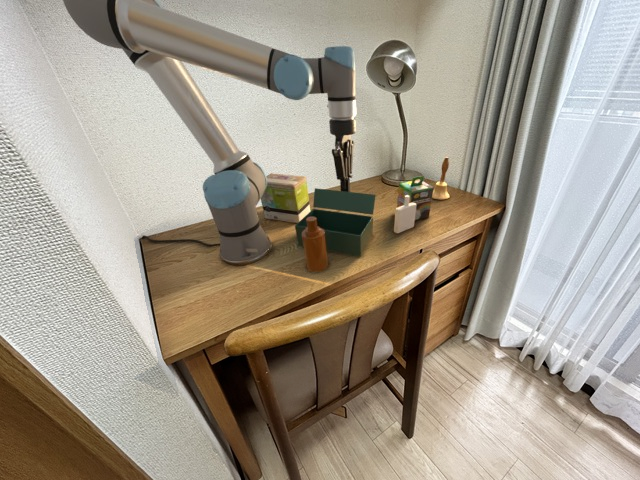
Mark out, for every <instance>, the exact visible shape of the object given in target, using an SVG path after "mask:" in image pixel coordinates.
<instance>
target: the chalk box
mask: <svg viewBox="0 0 640 480" xmlns="http://www.w3.org/2000/svg"><path fill="white" fill-rule="evenodd" d="M424 179H425V176H424V175H420V176H419V175H418V176H414V177H413V178H412V180H409V181H405V182H400V183H399V184H398V192H397V205H396V208H398V207H400V206H403V205H404V200H405V196H407V195H408V196H410V198H409V203H412V202H413V203H416V213H415V221H417V220H422V219H426V218H429V217H430V213H431V208H432V201H433V198H432V195H433V190H434V188H435V186H432V185H430V184H428V183H427V182H425V181H424Z"/></svg>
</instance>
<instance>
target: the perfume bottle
mask: <svg viewBox="0 0 640 480" xmlns="http://www.w3.org/2000/svg"><path fill="white" fill-rule="evenodd" d="M409 198H410V196H408V195H407V196H405V200H404V205H403V206H400V207H398V208H397V207H396V208H395V211H394V226H393V232H394V233H395V234H400V233H402V232H405V231H407V230H410V229H412V228H414V227H415V221H416V220H415V213H416V203H413V202H412V203H409Z"/></svg>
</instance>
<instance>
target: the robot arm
mask: <svg viewBox="0 0 640 480" xmlns="http://www.w3.org/2000/svg"><path fill="white" fill-rule="evenodd" d="M62 2H63V5H64V7H65V9H66V11H67V13H68V14H69V16H70V18H71V19H72V21H73V22H74V23H75V25H76V26H77V27H78V28H79V29H81V31H82V32H83V33H85V34H86V35H87V36H88V37H89V38H91V39H92V40H94V41H96V42H98V43H99V44H101V45H103V46H106V47H110V48H114V49H120V50H122V51H123V52H124V54H125V55H126V57H128V59H129V60H130V61H131V63H132V64H133V65H134V67H135V68H136V69H137V70H140V71H142V72H144V73H146V74H148V75H149V77H150V78H151V79H152V81H153V82H154V84H155V85H156V87H157V88H158V89H159V90H160V92H161V93H162V94H163V96H164V97H165V99H166V100H167V102H168V103H169V104H170V106H171V107H172V109H173V110H174V111H175V113H176V114H177V116H178V117H179V118H180V120H181V121H182V123H183V124H184V126H186V128H187V129H188V131H189V132H190V134H191V135H192V137H194V139H195V141H196V142H197V143H198V145H199V147H201V149H202V150H203V151H204V153H205V154H206V155H207V157H208V158H209V159H210V161H211V163H212V164H213V171H212V172H213V174H211V175H209V176H208V177H207V178H206V179H205V180H204V181H203V183H202V192H203V194H204V195H203V197H204V199H205V201H206V203H207V206H208V209H209V211H210V214H211V216H212V219H213V221H214V224H215V226H216V229H217V231H218V234H219V243H205V242H203V241H201V240H198V239H193V238H191V239H190V238H185V239H184V238H183V239H181V238H180V239H151V238H149V237H148V236H147V235H142V236H141V239H142V240H143V239H146V240H147V241H149V242H151V243H181V242H194V243H198V244H200V245H202V246H205V247H219V255H220V258H221V260H222V261H223V262H224V263H225V264H227V265H230V266H247V265H251V264H254V263H257V262H259V261H261V260H263V259H265V258H266V257H267V256H268V255H270V253H271V252H272V250H273V245H272V241H271V239H270V237H269V236H268V235H267V233H266V231H265V230H264V228H263V227H262V225H261V222H260V218H259V216H258V211H257V205H258V204H259V202H260V201H261V197H262V196H263V195H264V193H265V191H266V187H267V177H266V176H267V174H266V172H265V170H264V169H263V168H262V166H261V165H259V164H258V163H257V162H254V161H253V160H252V158H251V156H250V155H249V154H248V153H247V152H245V151H242V150H240V149H239V147H238V146H237V145H236V142H235V141H234V139H233V138H232V137H231V135H230V134H229V131H228V130H227V129H226V128H225V125H224V124H223V123H222V121H221V120H220V118H219V117H218V115H217V113H216V112H215V110H214V109H213V107H212V105H211V104H210V103H209V101H208V99H207V98H206V96H205V95H204V93H203V92H202V91H201V89H200V87H199V85H198V84H197V83H196V81H195V79H194V78H193V76H192V75H191V73H190V72H189V70H188V68H187V67H186V65H185V64H188V65H191V66H194V67H198V68H201V69H203V70H206V71H211V72H213V73H216V74H220V75H221V76H224V77H225V76H226V77H229V78H232V79H234V80H238V81H241V82H245V83H248V84H250V85H252V86H253V85H254V86H257V87H259V88H262V89H266V90H269V91H272V92H274V93H276V94H280V95H282V96H283V97H285V98H286V99H288V100H293V101H300V100H303V99H304V98H306V97H308V96H309V95H318V94H321V95H322V94H323V95H324V94H327V105H326V107H327V109H328V117H329V118H330V119H329V121H328V122H329V124H328V125H329V133H330V135H332V136H335V139H334V148H332V149H331V155H332V157H333V162H334V168H335V169H334V170H335V175H336V180H337V181H339V186H340V191H345V192H351V179H352V178H353V175H352V174H353V161H354V146H355V140H352V135H355V134H356V132H357V120H356V118H355V117H356V116H357V102H356V101H357V99H356V59H355V58H356V56H355V50H354V49H353V48H352V47H351V46H347V45H345V46H344V45H339V46H328V47H325V48H324V54H323V56H321V57H301V56H298V55H295V54H291V53H288V52H285V51H283V50H280V49H276V48H273V47H271V46H269V45H266V44H263V43H261V42H257V41H255V40H252V39H249V38H246V37H244V36H241V35H238V34H235V33H233V32H230V31H227V30H224V29H221V28H219V27H216V26H213V25H211V24H207V23H205V22H202V21H199V20H196V19H194V18H191V17H188V16H185V15H183V14H179V13H178V12H175V11H171V10H169V9H166V8H164V7H163V6H162V5H161V3H159V2H158V0H62Z"/></svg>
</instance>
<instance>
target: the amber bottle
mask: <svg viewBox="0 0 640 480" xmlns="http://www.w3.org/2000/svg"><path fill="white" fill-rule="evenodd" d="M306 222H307V228H306V229H305V230H304V231H303V232H302V239H303V245H304V246H303V250H304V251H303V252H304V256H305V263H306V268H307V270H308V271H310V272H315V273H317V272H322V271H324V270H326V269H328V267H329V262H328V261H329V260H328V252H327V250H326V241H325V231H324V230H323V229H322V228H320V227H318V226H317V219H316V217H308V218H306Z"/></svg>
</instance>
